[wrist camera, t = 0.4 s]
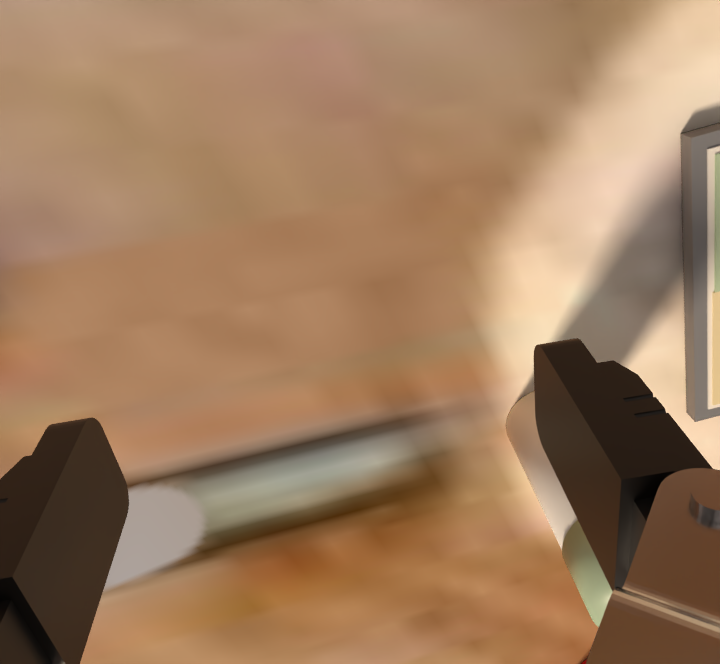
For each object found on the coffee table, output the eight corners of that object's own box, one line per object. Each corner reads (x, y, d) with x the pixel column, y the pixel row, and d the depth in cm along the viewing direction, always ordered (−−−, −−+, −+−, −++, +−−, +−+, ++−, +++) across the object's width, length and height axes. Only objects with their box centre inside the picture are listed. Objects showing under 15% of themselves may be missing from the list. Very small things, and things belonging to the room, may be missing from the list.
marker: (498, 398, 36) (584, 572, 25) (581, 376, 36) (702, 542, 25) (510, 462, 38) (593, 647, 27) (588, 442, 38) (703, 619, 27)
